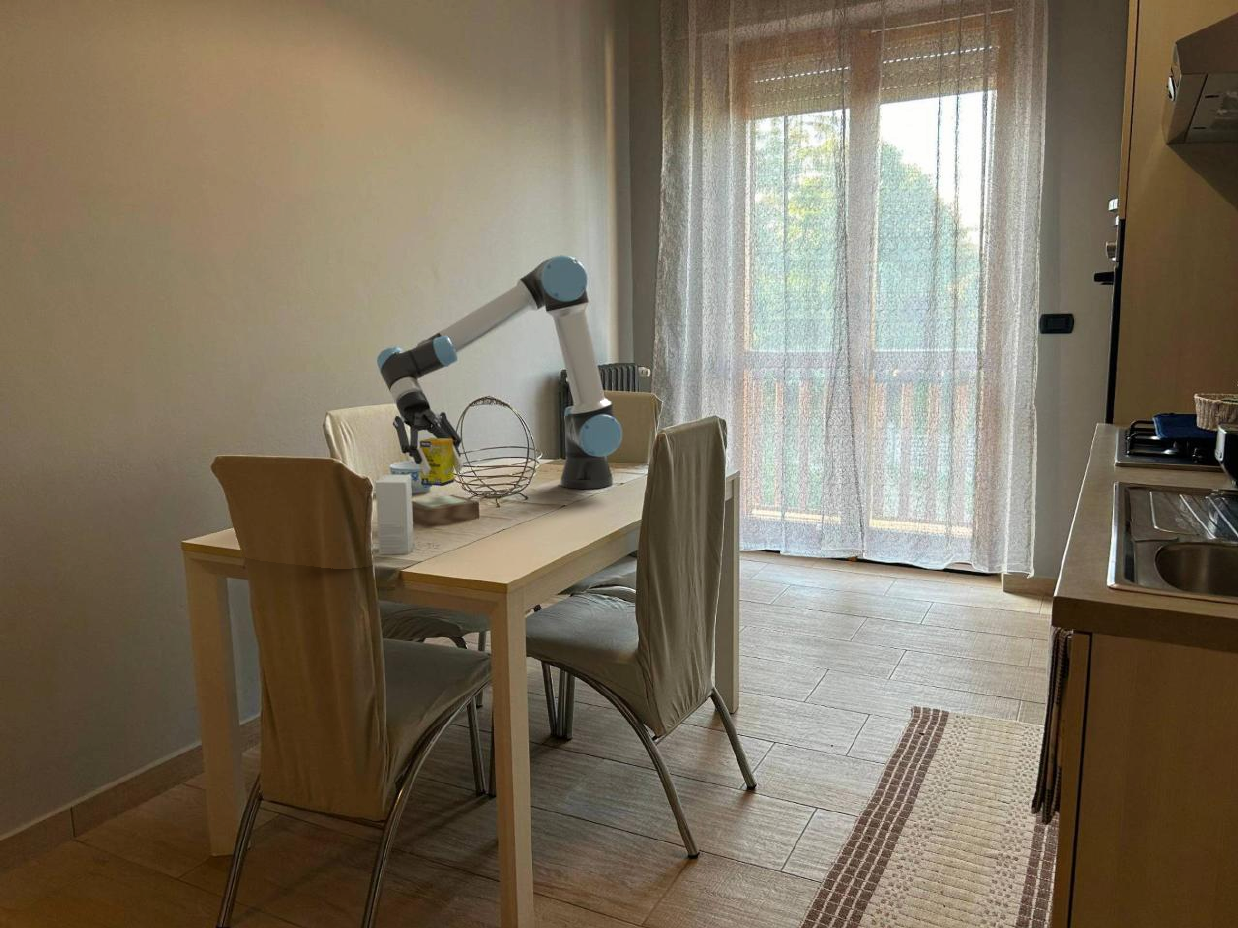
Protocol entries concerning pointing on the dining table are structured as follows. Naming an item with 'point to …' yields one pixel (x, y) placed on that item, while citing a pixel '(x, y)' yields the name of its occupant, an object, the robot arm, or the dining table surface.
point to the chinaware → (413, 470)
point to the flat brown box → (444, 510)
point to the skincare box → (394, 514)
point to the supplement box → (438, 461)
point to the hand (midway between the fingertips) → (444, 470)
